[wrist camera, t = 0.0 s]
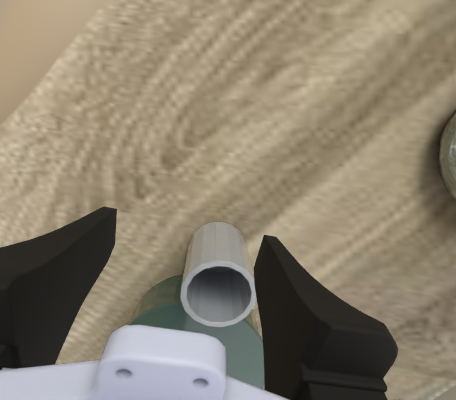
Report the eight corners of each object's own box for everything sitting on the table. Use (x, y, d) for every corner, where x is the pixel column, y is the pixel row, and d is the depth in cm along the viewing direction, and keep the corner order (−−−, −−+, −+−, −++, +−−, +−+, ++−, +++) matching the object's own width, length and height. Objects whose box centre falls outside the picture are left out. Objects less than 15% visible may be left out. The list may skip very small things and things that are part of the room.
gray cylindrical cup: (213, 283, 27) (213, 339, 21) (177, 244, 26) (164, 290, 19) (257, 251, 27) (271, 299, 20) (222, 210, 25) (225, 246, 19)
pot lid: (182, 438, 28) (177, 495, 24) (79, 354, 25) (52, 403, 21) (295, 366, 26) (310, 414, 22) (200, 264, 23) (197, 298, 19)
